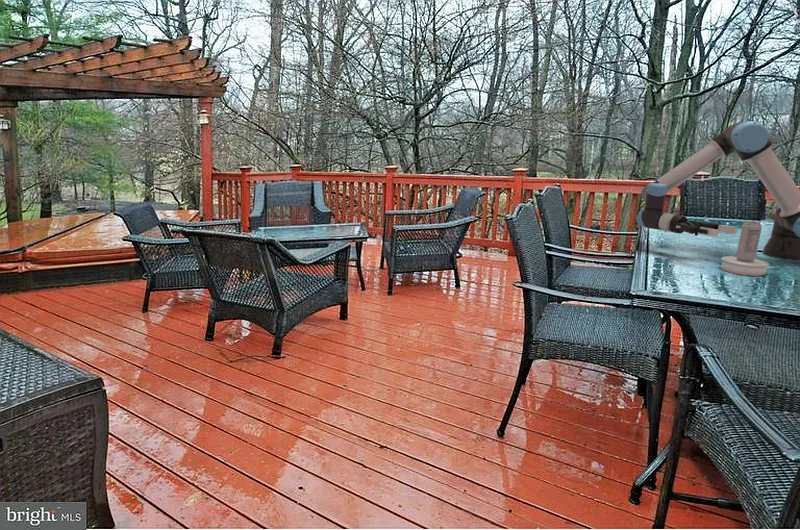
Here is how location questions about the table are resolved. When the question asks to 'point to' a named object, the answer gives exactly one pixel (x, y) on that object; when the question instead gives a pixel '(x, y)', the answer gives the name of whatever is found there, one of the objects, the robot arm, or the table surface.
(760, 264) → the pedestal
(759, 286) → the table surface
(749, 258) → the energy drink can
